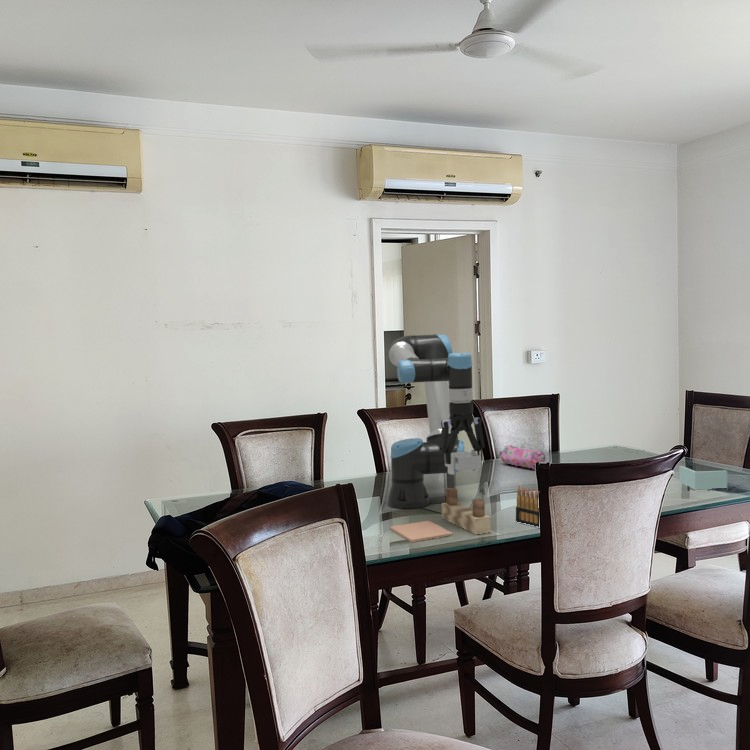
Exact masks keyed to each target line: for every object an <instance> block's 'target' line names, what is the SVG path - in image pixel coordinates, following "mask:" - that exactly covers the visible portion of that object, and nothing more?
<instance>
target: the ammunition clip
mask: <svg viewBox="0 0 750 750" xmlns="http://www.w3.org/2000/svg"><path fill="white" fill-rule="evenodd" d="M538 498H539V492H538V489H537V488H536V489H535V490H533V488H530V490H529V487H526V490H525V486H522V488H521V487H520V485H518V486H517V491H516V507H515V522H516V521H517V522H521V523H526V524H530V525H534V526H538V527H539V508H538ZM517 522H516V523H517ZM521 523H520V524H521Z"/></svg>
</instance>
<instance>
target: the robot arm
mask: <svg viewBox="0 0 750 750" xmlns="http://www.w3.org/2000/svg"><path fill="white" fill-rule="evenodd" d="M387 357H388V360H389V361H390V363H391V364H392V365H394V366H395V367H397V368H396V371H397V372H396V373H397V380H398V381H399V383H400V384H401V383H404V384H412V383H424V389H425V390H424V391H425V399H426V409H427V419H428V427H429V429H428V430H429V434H428V435H427V437H426V441H425V442H424V441H423V439H422V438H421V437H420V438H419V437H415V438H414V437H413V438H406V439H400V440H398V441H395V442H393V443H392V445H391V446H390V456H389V457H390V464H391V466H390V467H391V468H390V469H391V472H390V473H391V485H390V489H389V493H388V495H387V505H388V506H389V505H390V506H389V507H391V506H392V507H391V508H394V507H396V508H395V509H403V508H406V509H405V510H407V509H408V510H409V508H410V509H418V508H423V507H427V506H428V505H429V504H430V496H429V494H428V490H427V487H426V485H425V481H424V480H425V479H424V478H425V477H424V475H434V474H436V475H437V474H439V475H440V474H449V475H453V476H454V475H455V473H458V472H460V471H458V470H455V469H454V454H451V453H455V452H463V451H465V444H464V441H463V440H462V439H459V434H460V432H463V431H464V432H465V433H466V436H467V438H468V440H469V442H470V444H471V447H472V449H471V450H470V452H471V453H474V454H478V455H480V452H481V451H482V449H485V447H486V445H485V439H484V434H483V428H482V423H483V419H482V418H481V417H474V415H473V413H474V402H472V401H473V399H474V398H473V397H474V396H473V395H474V394H473V360H472V354H471V353H469V352H453V346H452V344H451V341H450V339H449V337H448V336H447V335H445V334H436V333H434V334H417V335H411V334H410V335H404V336H402V337H399V338H397V339H395V340H394V341H393V342H392V343H391V344H390V345H389V348H388V351H387ZM472 424H473V427H472ZM473 428H474V429H473ZM445 462H446V464H448V467H447V466H445ZM471 471H472V472H475V473H476V472H477V473H478V472H479V468H477V469H471Z"/></svg>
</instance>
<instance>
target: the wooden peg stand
mask: <svg viewBox="0 0 750 750" xmlns="http://www.w3.org/2000/svg"><path fill="white" fill-rule="evenodd" d="M458 499H459V498H458V489H456V488H454V487H446V488H445V502H443V503H441V517H442V518H441V519H442V520H445V519H446V520H445V521H447V522H449V523H451V522H452V524H453V525H455V524H456V526H457V525H458V526H457V527H459V526H460V527H459V528H461V527H462V528H461V529H463V528H464V529H463V530H465V529H466V530H465V531H467V530H468V531H467V532H469V531H470V532H469V533H471V532H472V533H471V534H473V533H474V535H475V534H476V535H475V536H478V535H477V534H480V535H484V534H483V533H486V534H489V533H488V532H490V533H491V516H489V515H488V514H485V499H484V498H473V499H472V501H471V502H472V507H468V506H466V505H465V504H461V503H459V501H458Z"/></svg>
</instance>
